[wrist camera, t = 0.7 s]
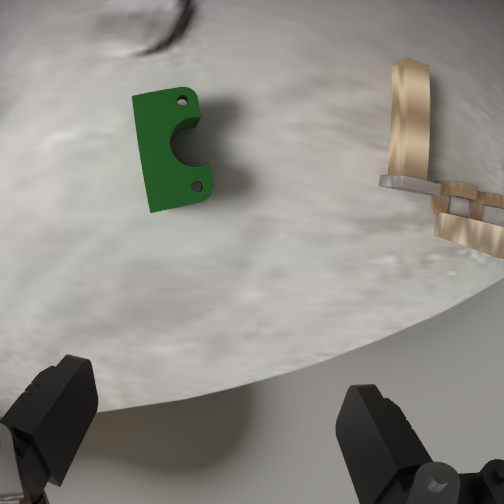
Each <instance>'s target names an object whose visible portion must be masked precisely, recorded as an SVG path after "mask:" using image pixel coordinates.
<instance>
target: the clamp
mask: <svg viewBox="0 0 504 504" xmlns="http://www.w3.org/2000/svg"><path fill="white" fill-rule="evenodd" d="M180 99H184V100H186V101H187V105H185V106H181V105H179V104H178V103H177V101H178V100H180ZM132 101H133V109H134V117H135V125H136V132H137V139H138V146H139V152H140V158H141V164H142V170H143V176H144V182H145V187H146V193H147V198H148V203H149V208H150V213H153V212H157V211H162V210H166V209H171V208H175V207H180V206H185V205H189V204H194V203H199V202H203V201H205V200H206V199H207V198H208V197H209V196H210V195H211V193H212V188H213V186H212V180H211V174H210V168H209V163H208V164H206V165H204V166H200V167H191V166H187V165H184V164H182V163H181V162H179V161H178V160H177V159H176V158H175V156H174V155H173V153H172V151H171V147H170V141H171V139H172V138H173V136H174V135H175V134H176V133H177V132H179V131H180V130H182V129H185V128H191V127H194V128H196V126H197V124H198V122H199V120H200V118H201V116H200V109H199V103H198V97H197V95H196V93H195V92H194V91H193V90H192V89H190V88H188V87H178V88H172V89H166V90H160V91H155V92H149V93H144V94H139V95H135V96H132ZM194 181H198V182H199V183H200V184H201V190H200V191H199V192H198V193H196V192H193V191H192V189H191V185H192V183H193V182H194Z"/></svg>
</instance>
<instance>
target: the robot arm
mask: <svg viewBox="0 0 504 504" xmlns="http://www.w3.org/2000/svg"><path fill="white" fill-rule="evenodd" d="M97 408H98V394H97V390H96V385H95V379H94V374H93V368H92V364H91V361H90V360H89V359H85V358H81V357H77V356H73V355H69V354H68V355H66V356H65V357H64V358H63V359H62V360H61V361H60V362H59V364H58V365H57V366H56V367H55V366H50V367H49V368H47V369H45V370H43V371H42V372H40V373H39V374H38V375H37V376H36V377H35V378H34V380H33V381H32V382H31V385H30V384H29V386H28V387H27V388H26V389H25V392H24V393H22V394H21V395H20V396H19V398H18V399H17V400H16V401H15V403H14V404H13V405H12V406H11V408H10V409H9V410H8V411H7V413H6V414H5V415H4V416H3V418H2V419H1V420H0V504H50V503H49V500H48V498H47V495H46V492H45V490H44V488H45V486H46V483H47V482H50V483H52V484H54V485H57V486H59V487H60V486H61V484H62V482H63V480H64V478H65V476H66V474H67V471H68V469H69V467H70V465H71V463H72V461H73V459H74V457H75V454H76V452H77V450H78V448H79V446H80V444H81V442H82V440H83V438H84V436H85V434H86V432H87V430H88V428H89V426H90V424H91V422H92V420H93V418H94V417H95V414H96V412H97ZM336 437H337V440H338V443H339V445H340V448H341V451H342V454H343V457H344V460H345V462H346V465H347V468H348V471H349V474H350V477H351V479H352V482H353V485H354V488H355V491H356V494H357V497H358V500H359V503H360V504H504V460H500V459H495V460H491V461H489V462H488V463H487V464H486V465H485V466H484V467H483V468H482V470H481V471H480V472H479V473H466V474H458V473H457V472H456V470H455V469H454V468H453V467H451V466H450V465H447V464H445V463H442V462H433V460H432V459H431V457H430V456H429V454H428V452H427V451H426V449H425V447H424V446H423V444H422V443H421V441H420V439H419V438H418V436H417V435H416V433H415V431H414V430H413V429H412V427H411V425H410V423H409V422H408V420H406V417H405V416H404V414H403V412H402V411H401V409H400V407H398V406H397V405H396V404H394V402H392V401H391V400H390V399H388V398H383V396H382V395H381V393H380V391H379V390H378V388H377V387H376V386H375V385H374V384H366V385H351V386H350V387H349V389H348V391H347V393H346V396H345V399H344V402H343V405H342V407H341V410H340V413H339V415H338V418H337V421H336Z"/></svg>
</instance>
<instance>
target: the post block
mask: <svg viewBox="0 0 504 504" xmlns="http://www.w3.org/2000/svg"><path fill="white" fill-rule="evenodd" d="M434 183H437V184H441V192H440V196H438V195H432V204H431V212H430V214H435V215H437V219H436V225H435V232H434V235H435V236H438V237H441V238H444V239H447V240H450V241H453V242H455V243H458V244H461V245H464V246H467V247H470V248H472V249H475V250H478V251H481V252H483V253H486V254H489V255H491V256H494V257H497V258H503V259H504V227H503V226H499V225H495V224H491V223H487V222H483V221H481V220H482V212H483V205H485V206H491V207H496V208H501V209H504V196H503V195H500V194H492V193H484V192H477V188H478V187H475V186H472V185H469V184H466V183H458V182H442V181H434ZM449 196H450V197H457V198H464V199H470V204H469V212H468V218H466V217H461V216H456V215H451V214H447V211H448V203H449Z"/></svg>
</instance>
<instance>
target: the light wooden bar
mask: <svg viewBox="0 0 504 504" xmlns="http://www.w3.org/2000/svg"><path fill="white" fill-rule="evenodd" d="M429 140H430V79H429V65H427V64H424V63H421V62H419V61H416V60H414V59H411V58H408V57H407V58H405V59H404V60H402V61H400V62H399V63H397V64H396V65H394V66H393V67H392V116H391V138H390V153H389V166H388V176H380V180H379V186H382V187H388V188H393V189H398V190H403V191H409V192H413V193H422V194H430V195H438V196H440V192H441V184H437V183H433V182H429V181H427V172H428V159H429Z"/></svg>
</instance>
